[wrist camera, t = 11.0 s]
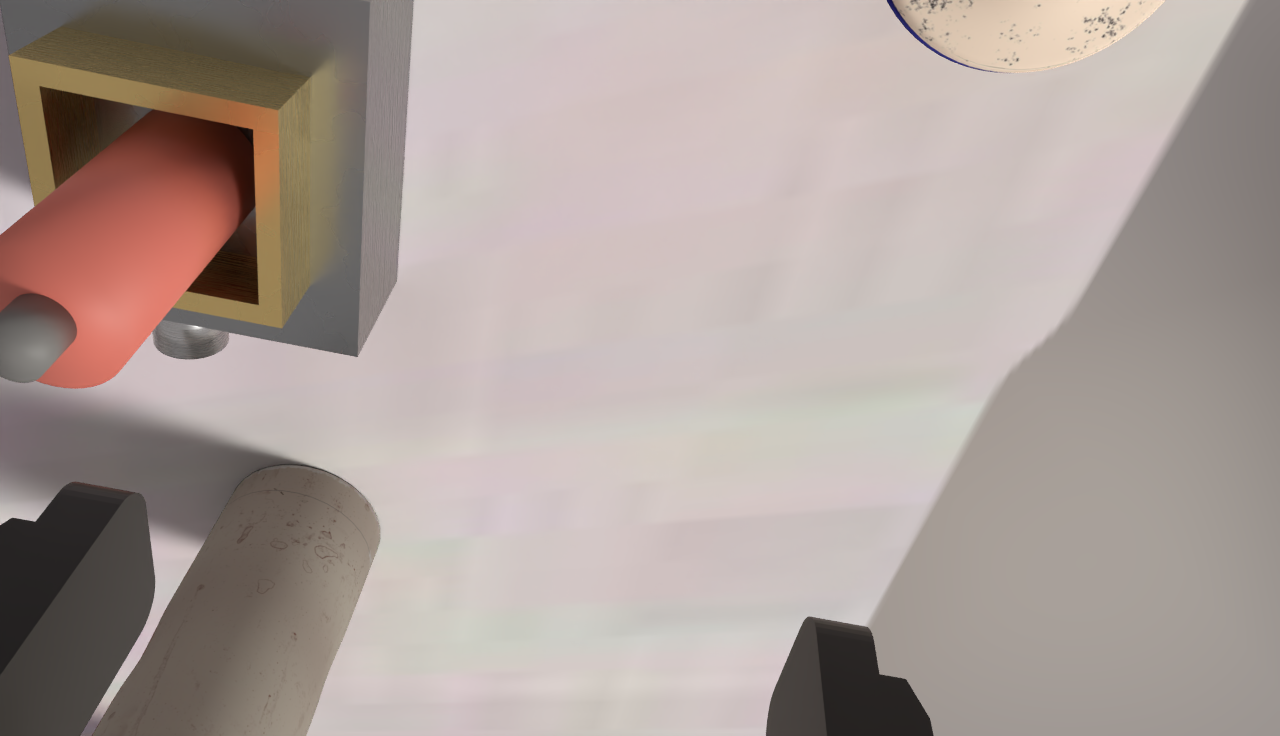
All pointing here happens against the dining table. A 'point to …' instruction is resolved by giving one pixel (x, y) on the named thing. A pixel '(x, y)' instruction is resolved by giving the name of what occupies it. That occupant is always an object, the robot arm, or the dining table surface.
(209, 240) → the oil can
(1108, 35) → the teacup with lid
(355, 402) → the dining table surface
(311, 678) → the thermos bottle
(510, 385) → the dining table surface
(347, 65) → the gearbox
